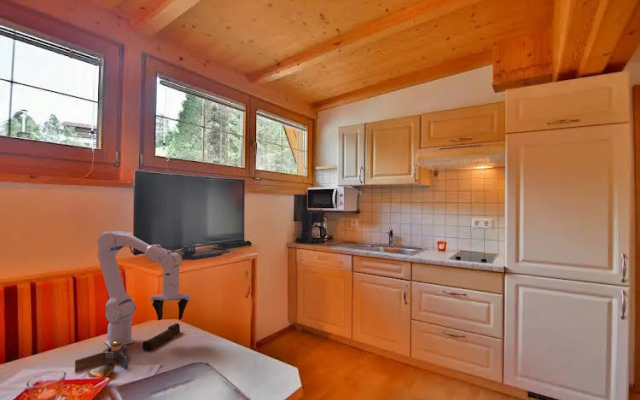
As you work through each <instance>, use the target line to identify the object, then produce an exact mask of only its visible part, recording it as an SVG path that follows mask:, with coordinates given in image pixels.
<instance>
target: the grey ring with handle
mask: <svg viewBox="0 0 640 400" xmlns="http://www.w3.org/2000/svg"><path fill="white" fill-rule="evenodd" d="M104 351H105V354H104V358H115V357H117V362H116V363H117V364H118V365H119V366H120V367H121V368H123V369H124V370H127V369H128V368H129V357H128V356H126V355H124V354H125V353H126V352H127V353H128V346H127V345H122V346H121V350H117V351H113V352H111V347H109V346H108V347H106V348H105V349H103V350H102V352H104Z"/></svg>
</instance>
